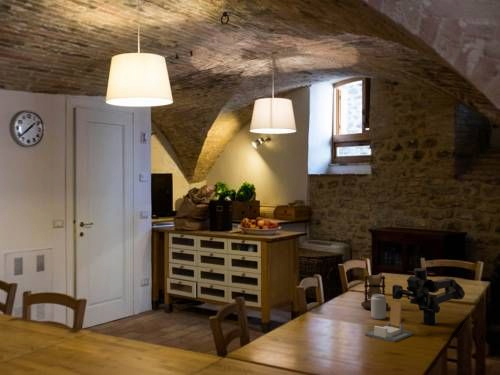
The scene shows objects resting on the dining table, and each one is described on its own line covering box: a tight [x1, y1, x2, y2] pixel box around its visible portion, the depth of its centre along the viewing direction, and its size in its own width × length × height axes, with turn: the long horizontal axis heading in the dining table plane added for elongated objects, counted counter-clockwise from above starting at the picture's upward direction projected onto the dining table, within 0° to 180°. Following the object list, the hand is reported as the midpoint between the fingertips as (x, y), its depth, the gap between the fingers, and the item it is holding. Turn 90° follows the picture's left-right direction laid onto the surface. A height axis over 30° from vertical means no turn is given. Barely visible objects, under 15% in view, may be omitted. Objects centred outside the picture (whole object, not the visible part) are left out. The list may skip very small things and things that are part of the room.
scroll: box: [361, 271, 389, 311], centre depth 302 cm, size 15×15×20 cm
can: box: [370, 293, 387, 320], centre depth 281 cm, size 8×8×12 cm
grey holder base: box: [364, 321, 414, 343], centre depth 250 cm, size 17×15×5 cm
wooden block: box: [389, 299, 403, 327], centre depth 254 cm, size 1×5×11 cm, turn 45°
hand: (401, 299), depth 252 cm, fingers open, 9 cm apart
